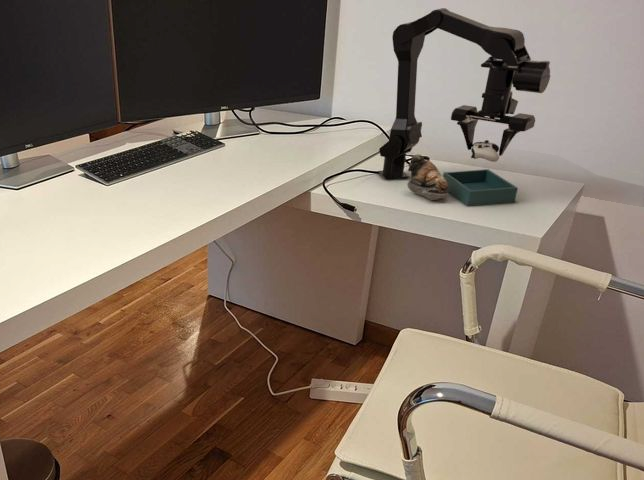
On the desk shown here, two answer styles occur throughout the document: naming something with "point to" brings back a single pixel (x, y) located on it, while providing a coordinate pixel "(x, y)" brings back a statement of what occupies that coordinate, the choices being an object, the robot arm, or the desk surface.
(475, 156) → the game controller
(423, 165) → the bison figurine
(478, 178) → the bin
